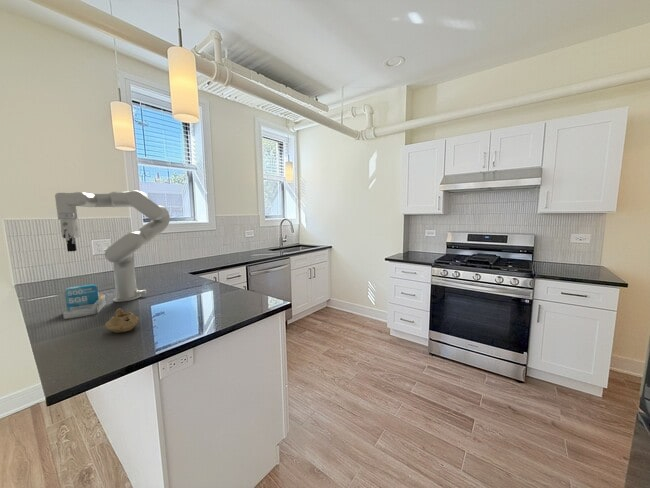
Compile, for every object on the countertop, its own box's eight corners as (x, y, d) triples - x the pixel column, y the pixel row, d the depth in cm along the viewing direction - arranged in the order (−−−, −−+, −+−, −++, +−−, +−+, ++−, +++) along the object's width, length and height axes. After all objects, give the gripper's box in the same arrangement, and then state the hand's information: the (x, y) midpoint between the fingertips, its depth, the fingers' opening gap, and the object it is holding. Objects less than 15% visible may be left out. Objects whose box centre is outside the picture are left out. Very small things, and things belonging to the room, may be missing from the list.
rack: (105, 303, 145) (104, 294, 145) (97, 313, 129) (96, 303, 129) (76, 307, 140) (75, 297, 139) (64, 319, 123) (62, 307, 123)
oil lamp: (119, 339, 100) (116, 319, 99) (99, 332, 107) (97, 313, 106) (149, 328, 110) (147, 309, 109) (130, 322, 117) (128, 304, 116)
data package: (67, 313, 131) (64, 289, 130) (68, 311, 134) (64, 288, 133) (99, 307, 139) (96, 284, 138) (99, 305, 142) (96, 283, 141)
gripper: (72, 216, 137) (77, 251, 138) (81, 216, 150) (85, 249, 151) (52, 216, 133) (57, 253, 135) (63, 217, 146) (67, 250, 148)
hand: (72, 251), depth 143 cm, fingers closed
